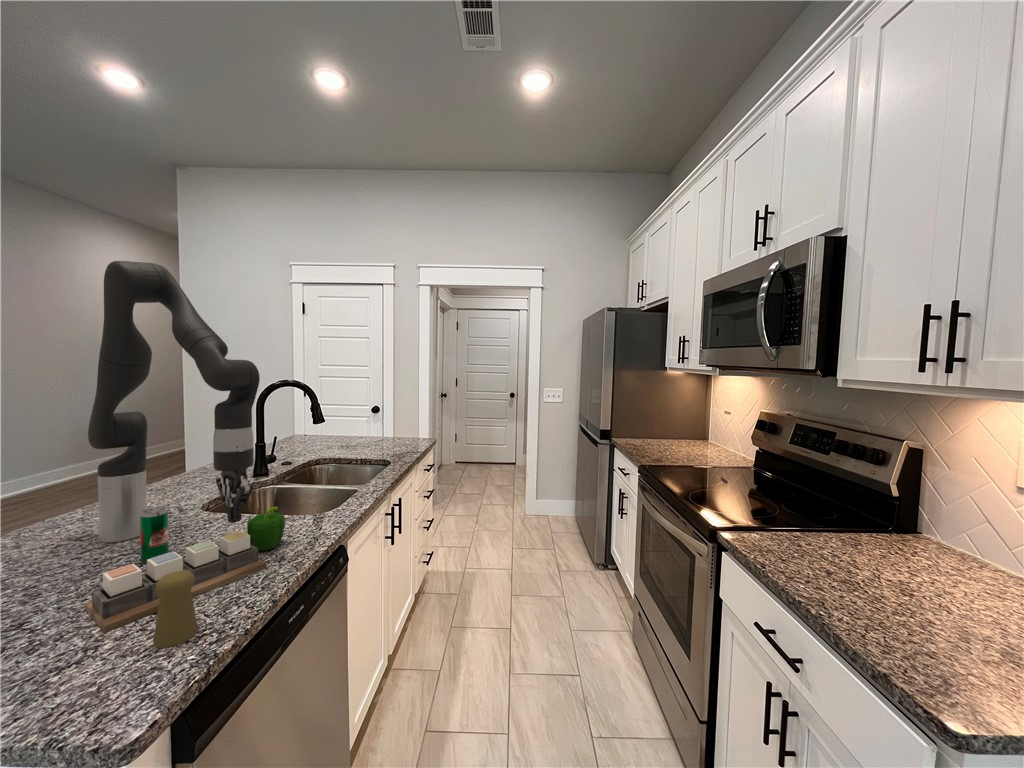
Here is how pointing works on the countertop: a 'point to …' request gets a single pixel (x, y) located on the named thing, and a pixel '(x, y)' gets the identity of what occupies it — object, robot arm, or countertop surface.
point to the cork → (175, 610)
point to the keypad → (146, 601)
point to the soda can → (153, 533)
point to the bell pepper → (266, 529)
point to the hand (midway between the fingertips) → (234, 521)
